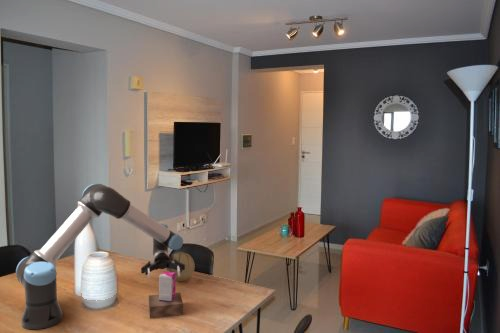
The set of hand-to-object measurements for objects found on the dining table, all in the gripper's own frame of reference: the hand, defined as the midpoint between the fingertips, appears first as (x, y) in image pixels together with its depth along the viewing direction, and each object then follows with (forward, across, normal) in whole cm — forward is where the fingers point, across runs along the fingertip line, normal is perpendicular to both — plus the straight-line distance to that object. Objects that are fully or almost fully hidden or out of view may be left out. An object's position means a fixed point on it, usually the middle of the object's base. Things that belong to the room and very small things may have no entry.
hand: (164, 274), depth 192 cm
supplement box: (+8, -1, -8) cm, 12 cm away
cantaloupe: (-23, -9, -13) cm, 28 cm away
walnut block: (+8, 0, -13) cm, 16 cm away
